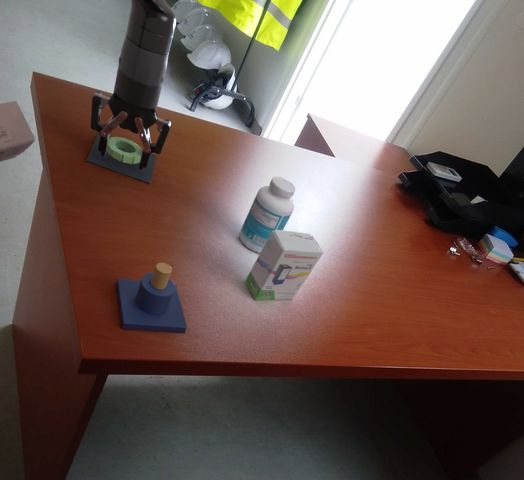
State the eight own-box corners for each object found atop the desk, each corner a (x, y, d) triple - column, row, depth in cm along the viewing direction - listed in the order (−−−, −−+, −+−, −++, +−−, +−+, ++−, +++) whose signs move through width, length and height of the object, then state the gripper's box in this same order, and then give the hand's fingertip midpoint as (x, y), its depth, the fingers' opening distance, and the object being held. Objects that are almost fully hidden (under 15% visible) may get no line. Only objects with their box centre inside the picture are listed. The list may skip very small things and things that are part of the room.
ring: (103, 155, 84) (104, 148, 83) (109, 139, 89) (110, 132, 88) (139, 168, 86) (140, 161, 85) (143, 152, 91) (144, 145, 90)
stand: (122, 329, 63) (134, 287, 57) (116, 283, 68) (127, 241, 62) (184, 333, 67) (201, 294, 62) (174, 290, 72) (189, 251, 67)
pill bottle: (261, 231, 95) (290, 174, 86) (278, 255, 92) (310, 198, 83) (231, 230, 91) (258, 169, 82) (247, 255, 87) (277, 194, 78)
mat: (86, 161, 85) (86, 160, 85) (97, 134, 93) (98, 133, 93) (149, 184, 89) (150, 183, 89) (156, 156, 97) (156, 155, 97)
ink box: (281, 281, 86) (311, 231, 78) (293, 301, 83) (325, 251, 76) (243, 281, 81) (270, 227, 73) (254, 301, 79) (284, 248, 71)
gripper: (184, 82, 82) (160, 165, 93) (101, 46, 77) (87, 138, 89) (181, 97, 77) (156, 183, 88) (93, 60, 72) (79, 155, 84)
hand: (122, 160), depth 88 cm, fingers closed on ring, 6 cm apart
